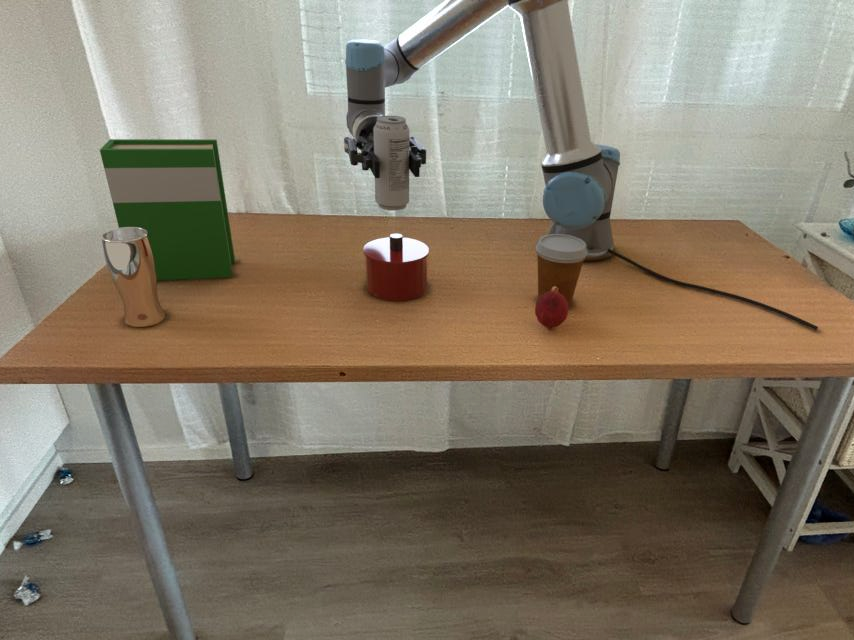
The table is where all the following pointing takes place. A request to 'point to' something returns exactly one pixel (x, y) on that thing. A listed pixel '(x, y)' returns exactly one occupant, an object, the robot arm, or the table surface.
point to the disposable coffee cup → (559, 263)
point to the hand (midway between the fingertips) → (397, 169)
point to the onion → (551, 308)
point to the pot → (396, 280)
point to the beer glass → (134, 274)
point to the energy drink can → (392, 162)
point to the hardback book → (173, 202)
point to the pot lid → (396, 250)
